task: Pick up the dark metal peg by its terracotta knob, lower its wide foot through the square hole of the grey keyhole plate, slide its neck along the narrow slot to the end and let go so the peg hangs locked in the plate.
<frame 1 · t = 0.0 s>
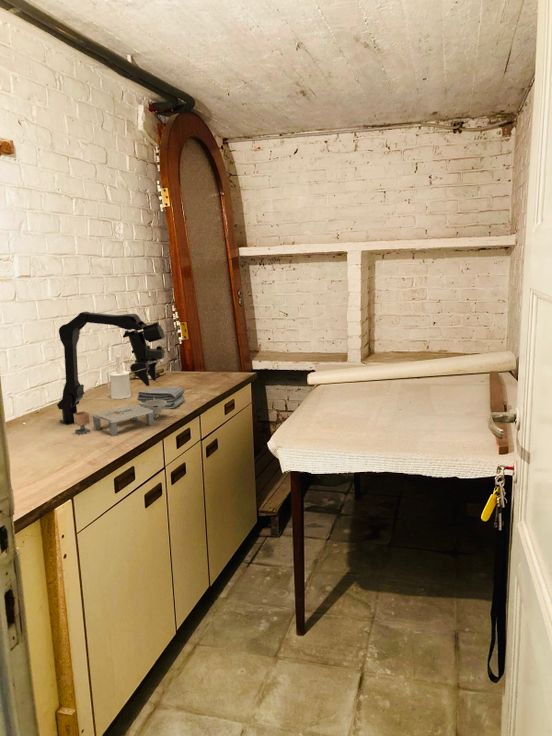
hand: (151, 383, 224), 15 cm above the table, tool pointing down, fingers open, 9 cm apart
towel: (161, 405, 253), on the table
keyhole stand: (124, 426, 220), on the table
showerhead: (155, 417, 233), on the table
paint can: (120, 397, 269), on the table
peg: (82, 432, 215), on the table
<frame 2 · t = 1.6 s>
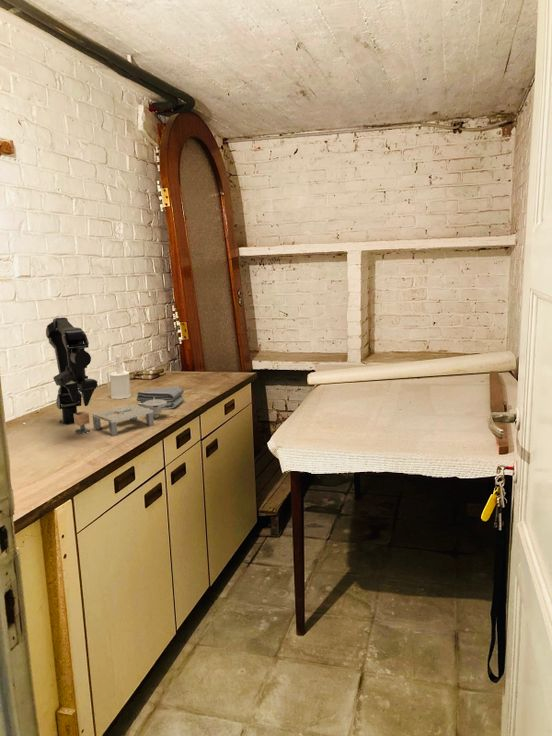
hand: (80, 403, 213), 11 cm above the table, tool pointing down, fingers open, 9 cm apart
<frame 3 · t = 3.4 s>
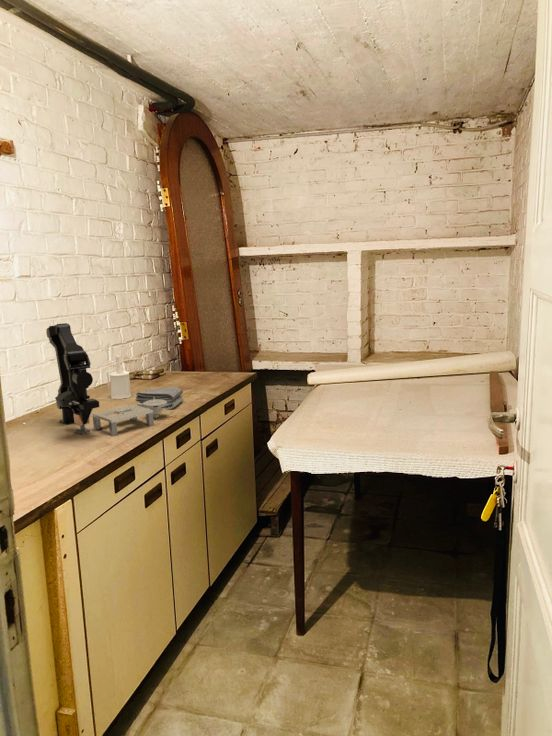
hand: (82, 423, 214), 4 cm above the table, tool pointing down, fingers closed on peg, 4 cm apart
peg: (82, 432, 215), on the table, touching gripper
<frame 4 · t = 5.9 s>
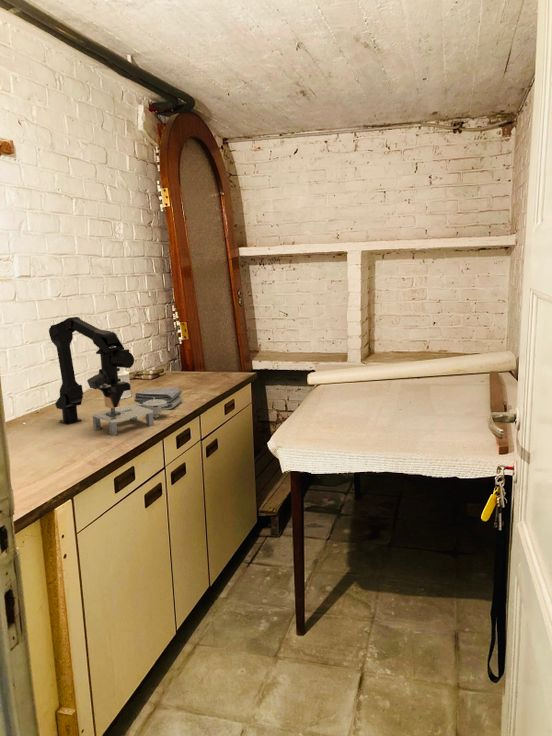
hand: (112, 406, 216), 9 cm above the table, tool pointing down, fingers closed on peg, 4 cm apart
peg: (113, 415, 217), point 6 cm above the table, touching gripper
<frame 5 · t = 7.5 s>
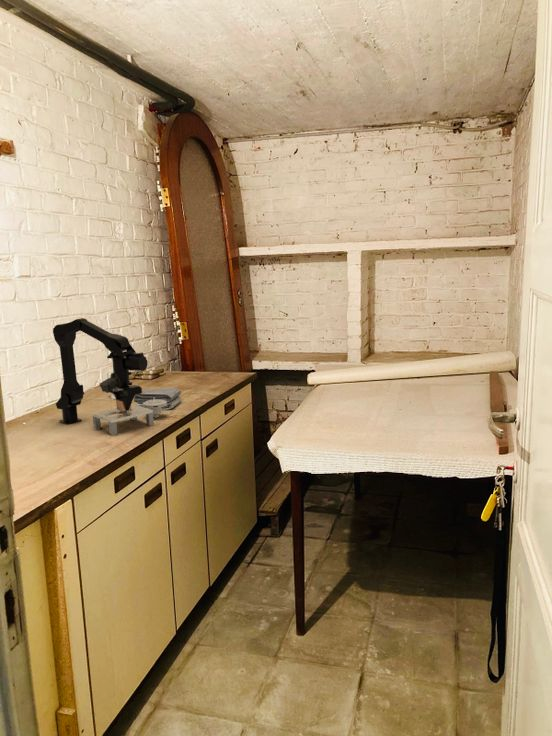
hand: (124, 409, 220), 7 cm above the table, tool pointing down, fingers closed on peg, 4 cm apart
peg: (124, 418, 220), point 3 cm above the table, touching gripper
when the fingers open (7 cm above the table, at t = 8.7 s): peg stays where it is, resting on keyhole stand.
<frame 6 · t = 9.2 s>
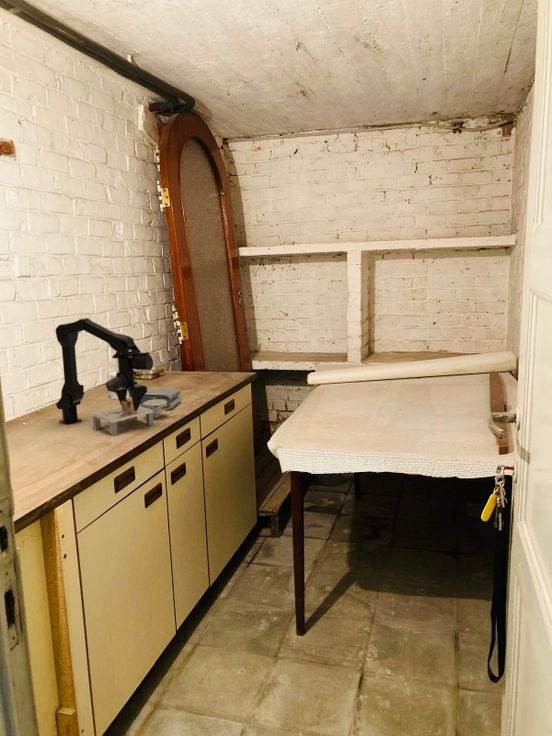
hand: (129, 408, 221), 7 cm above the table, tool pointing down, fingers open, 9 cm apart
peg: (130, 418, 222), point 2 cm above the table, touching keyhole stand
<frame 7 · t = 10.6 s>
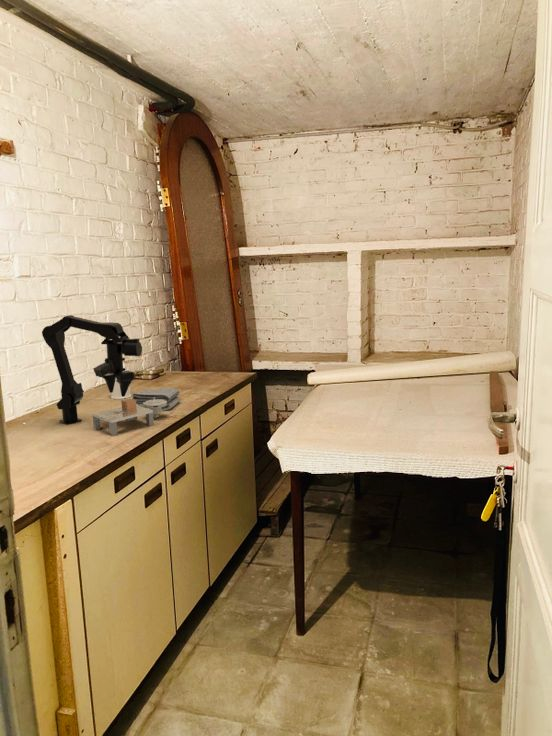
hand: (117, 394, 224), 11 cm above the table, tool pointing down, fingers open, 9 cm apart
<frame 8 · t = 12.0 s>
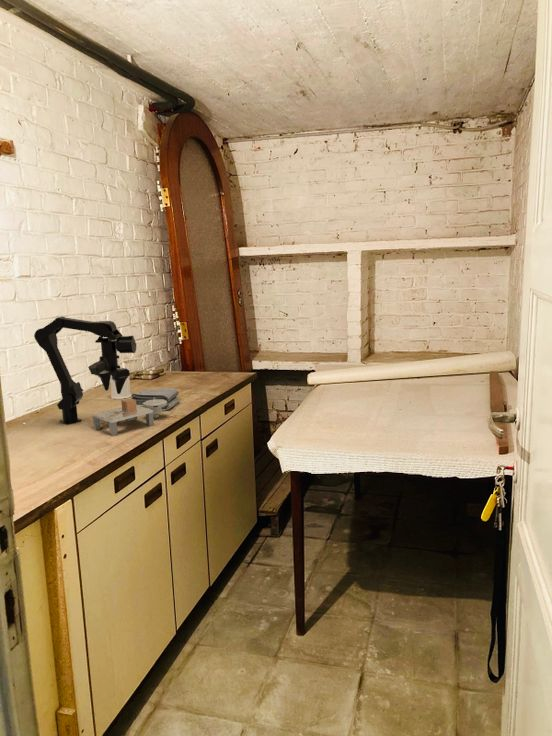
hand: (112, 392, 226), 12 cm above the table, tool pointing down, fingers open, 9 cm apart
at the end: peg 0.1 cm from the target spot on the keyhole stand, point 2.5 cm above the keyhole stand's base; the gripper is holding nothing; peg tilted 0° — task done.
